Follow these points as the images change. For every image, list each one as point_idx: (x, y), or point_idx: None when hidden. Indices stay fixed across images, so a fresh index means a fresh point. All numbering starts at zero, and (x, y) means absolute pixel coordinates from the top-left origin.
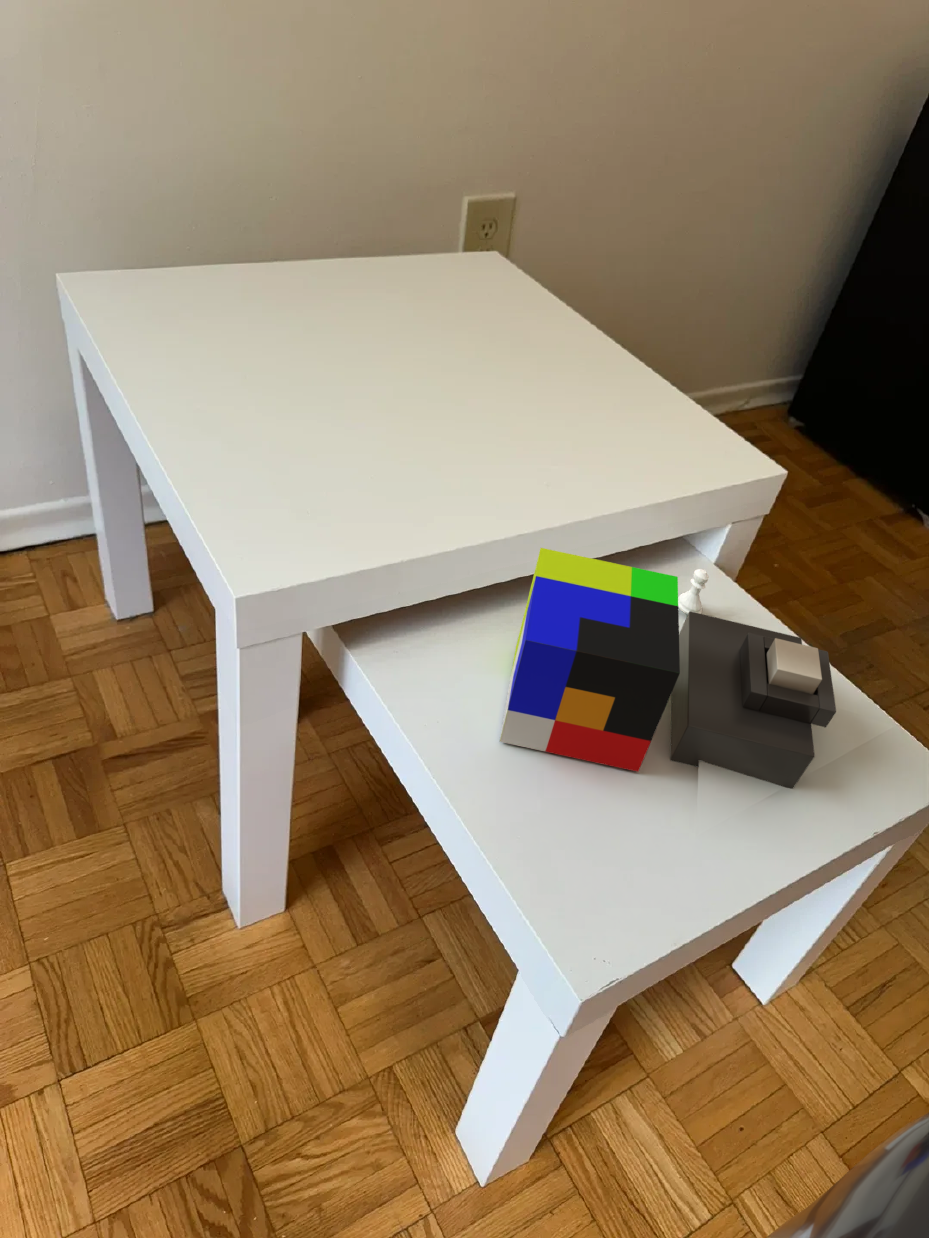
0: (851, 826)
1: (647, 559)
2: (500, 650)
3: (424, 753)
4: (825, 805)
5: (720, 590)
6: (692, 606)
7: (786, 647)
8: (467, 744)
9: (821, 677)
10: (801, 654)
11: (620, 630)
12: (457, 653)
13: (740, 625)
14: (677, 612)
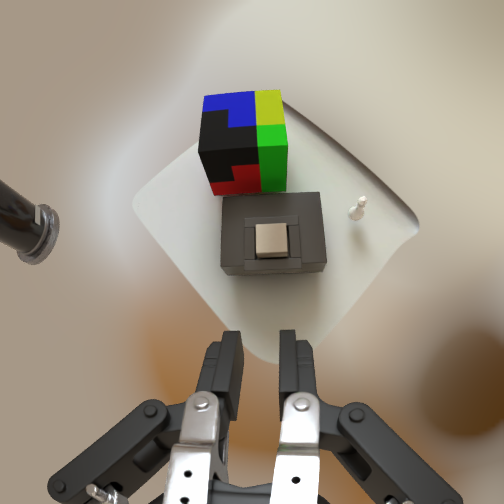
0: (227, 317)
1: (396, 198)
2: None
3: None
4: (237, 304)
5: (393, 241)
6: (351, 211)
7: (279, 230)
8: None
9: (257, 252)
10: (275, 239)
11: (224, 124)
12: None
13: (320, 221)
14: (251, 146)
